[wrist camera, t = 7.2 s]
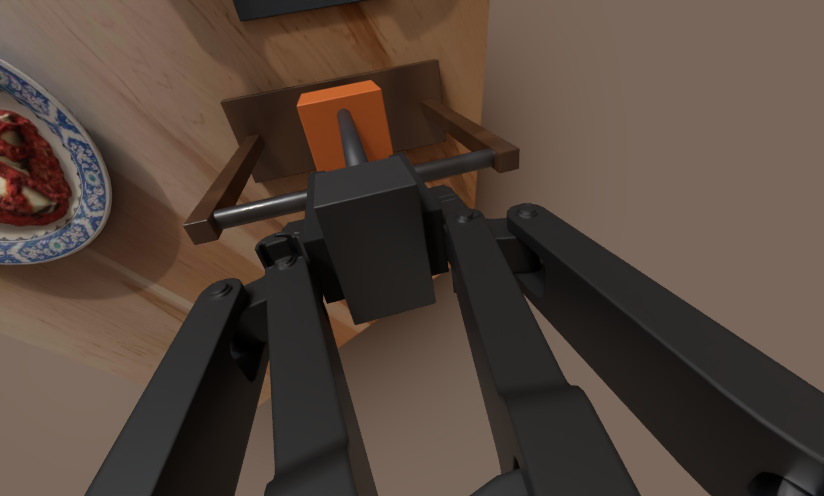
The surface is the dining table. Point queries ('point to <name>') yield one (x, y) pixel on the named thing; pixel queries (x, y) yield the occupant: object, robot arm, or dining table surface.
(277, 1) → the mat
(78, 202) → the ceramic plate
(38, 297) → the dining table surface
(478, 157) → the rack
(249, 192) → the dining table surface
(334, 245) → the orange block with hook
